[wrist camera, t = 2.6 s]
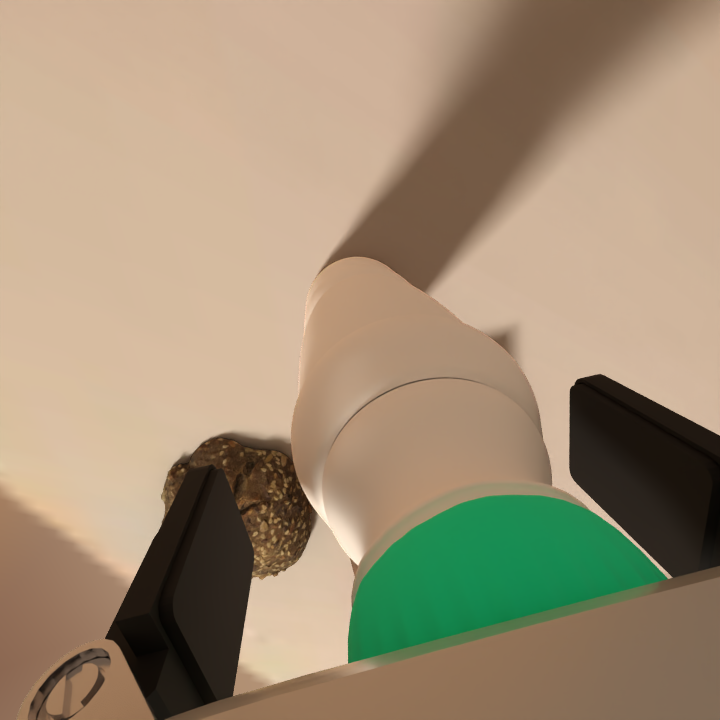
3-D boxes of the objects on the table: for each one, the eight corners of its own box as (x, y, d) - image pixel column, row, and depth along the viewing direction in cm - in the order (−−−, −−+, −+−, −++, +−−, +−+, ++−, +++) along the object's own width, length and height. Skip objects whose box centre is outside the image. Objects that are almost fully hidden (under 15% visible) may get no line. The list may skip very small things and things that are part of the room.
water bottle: (381, 365, 29) (633, 938, 6) (292, 334, 28) (167, 944, 4) (420, 278, 27) (1022, 627, 4) (326, 238, 26) (427, 444, 2)
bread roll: (305, 561, 36) (304, 612, 31) (163, 558, 34) (138, 612, 29) (320, 440, 31) (321, 479, 27) (158, 430, 30) (129, 469, 25)
